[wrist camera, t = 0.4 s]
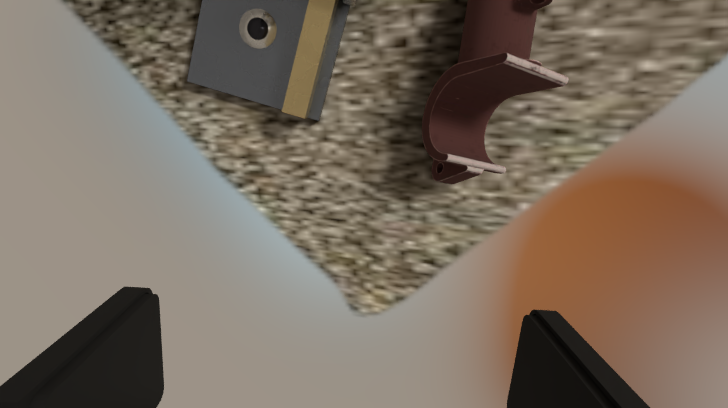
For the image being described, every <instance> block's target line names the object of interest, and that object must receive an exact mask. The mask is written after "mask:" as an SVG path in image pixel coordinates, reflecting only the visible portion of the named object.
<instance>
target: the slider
mask: <svg viewBox="0 0 728 408" xmlns="http://www.w3.org/2000/svg"><path fill="white" fill-rule="evenodd" d="M356 1H357V0H343V3H344V4H347V5H350V6H353V7H355V4H356Z"/></svg>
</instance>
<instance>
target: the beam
mask: <svg viewBox="0 0 728 408" xmlns="http://www.w3.org/2000/svg"><path fill="white" fill-rule="evenodd" d="M337 4H338V0H309V2H308V6H307V10H306V14H305V18H304V23H303V27H302V31H301V35H300V39H299V43H298V47H297V51H296V55H295V59H294V63H293V67H292V71H291V76H290V80H289V84H288V88H287V92H286V96H285V100H284V104H283V108H282V112H284V113H287V114H291V115H294V116H297V117H301V118H304V119H305V118H308V115H309V112H310V108H311V104H312V100H313V96H314V92H315V89H316V85H317V81H318V77H319V73H320V69H321V66H322V62H323V58H324V54H325V50H326V46H327V43H328V39H329V35H330V31H331V27H332V23H333V20H334V16H335V12H336V8H337Z"/></svg>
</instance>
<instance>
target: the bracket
mask: <svg viewBox="0 0 728 408" xmlns="http://www.w3.org/2000/svg"><path fill="white" fill-rule="evenodd" d="M551 2H552V0H468V3H467V9H466V15H465V21H464V27H463V34H462V40H461V46H460V52H459V58H458V64H456V65H454V66H452V67H451V68H449V69H448V70H447V71H446V72H445V73H444V74H443V75H442V76H441V77H440V78H439V80H438V81H437V82H436V84H435V86H434V87H433V89H432V91H431V93H430V95H429V98H428V100H427V103H426V106H425V110H424V114H423V120H422V138H423V143H424V146H425V149H426V151H427V152H428V154H429V155H430V156H431V157H432V158H433V165H432V177H433V179H434V180H435V181H438V182H443V183H448V184H455V183H458V182H461V181H464V180H467V179H469V178H472V177H475V176H478V175H481V174H482V172H483V170H484V171H488V172H493V173H500V174H501V173H505V171H506V168H505V167H504V166H499V165H496V164H494V163H493V162H492V161H491V160H490V159H489V158H488V156H487V154H486V151H485V146H484V136H485V130H486V126H487V124H488V121H489V119H490V117H491V115H492V113H493V112H494V110H495V109H496V108H497V107H498V106H499V105H500V104H501V103H502V102H503V101H504V100H506V99H508V98H510V97H512V96H515V95H520V94H525V93H531V92H536V91H541V90H546V89H551V88H556V87H561V86H565V85H566V84H567V83H568V80H569V79H568V77H567V76H565V75H562V74H559V73H557V72H554V71H552V70H549V69H547V68H544V67H542V66H541V65H542V64H541V62H539V61H536V60H531V59H529V57H530V51H531V45H532V39H533V33H534V27H535V21H536V15H537V9H539V8H542V7H544V6H546V5H548V4H550V3H551Z"/></svg>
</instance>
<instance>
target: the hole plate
mask: <svg viewBox="0 0 728 408" xmlns="http://www.w3.org/2000/svg"><path fill="white" fill-rule="evenodd" d="M308 2H309V0H202V4H201V9H200V15H199V20H198V25H197V30H196V36H195V41H194V46H193V52H192V57H191V62H190V68H189V73H188V78H187V81H188V82H191V83H195V84H198V85H201V86H204V87H208V88H211V89H214V90H218V91H221V92H224V93H228V94H231V95H234V96H238V97H241V98H244V99H248V100H251V101H254V102H258V103H261V104H264V105H268V106H271V107H274V108H278V109H281V110H282V108H283V104H284V100H285V96H286V92H287V88H288V84H289V80H290V76H291V71H292V67H293V63H294V59H295V55H296V51H297V47H298V43H299V39H300V35H301V31H302V27H303V23H304V18H305V14H306V10H307V6H308ZM349 8H350V5H347V4H344V3H343V0H338V4H337V8H336V12H335V16H334V20H333V23H332V27H331V31H330V35H329V39H328V43H327V46H326V50H325V54H324V58H323V62H322V66H321V69H320V73H319V77H318V81H317V85H316V89H315V92H314V96H313V100H312V104H311V108H310V112H309V115H308V118H311V119H314V120H317V121H319V120H320V117H321V113H322V109H323V105H324V102H325V98H326V94H327V90H328V87H329V83H330V79H331V76H332V72H333V68H334V64H335V61H336V57H337V53H338V49H339V46H340V42H341V38H342V34H343V31H344V27H345V23H346V20H347V16H348V12H349Z"/></svg>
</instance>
